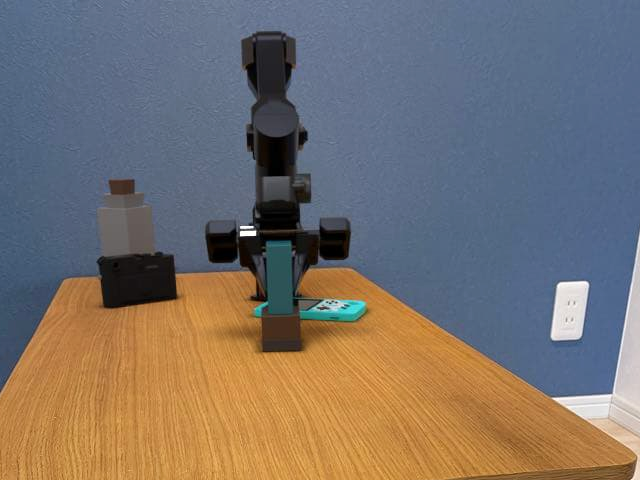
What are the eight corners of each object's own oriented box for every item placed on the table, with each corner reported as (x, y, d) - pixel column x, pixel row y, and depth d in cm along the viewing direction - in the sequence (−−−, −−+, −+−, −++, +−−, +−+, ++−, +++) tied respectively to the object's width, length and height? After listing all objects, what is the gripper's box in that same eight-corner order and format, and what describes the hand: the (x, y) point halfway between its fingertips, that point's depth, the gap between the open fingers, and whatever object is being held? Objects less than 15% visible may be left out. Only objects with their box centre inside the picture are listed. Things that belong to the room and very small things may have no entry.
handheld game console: (354, 321, 126) (354, 312, 125) (252, 316, 130) (252, 307, 130) (370, 308, 134) (370, 299, 133) (274, 304, 139) (274, 295, 138)
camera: (165, 292, 150) (161, 244, 146) (184, 298, 145) (180, 249, 141) (88, 303, 143) (82, 253, 139) (105, 309, 138) (99, 258, 134)
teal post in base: (262, 340, 116) (259, 240, 110) (299, 339, 116) (297, 239, 110) (262, 351, 111) (258, 246, 105) (300, 350, 111) (299, 245, 105)
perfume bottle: (158, 283, 158) (148, 178, 150) (133, 289, 153) (122, 181, 145) (130, 280, 162) (120, 178, 154) (105, 286, 157) (93, 180, 149)
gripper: (201, 152, 106) (200, 257, 101) (350, 148, 107) (357, 253, 102) (209, 212, 117) (209, 310, 112) (345, 209, 117) (351, 307, 112)
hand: (279, 295), depth 109 cm, fingers closed on teal post in base, 3 cm apart
